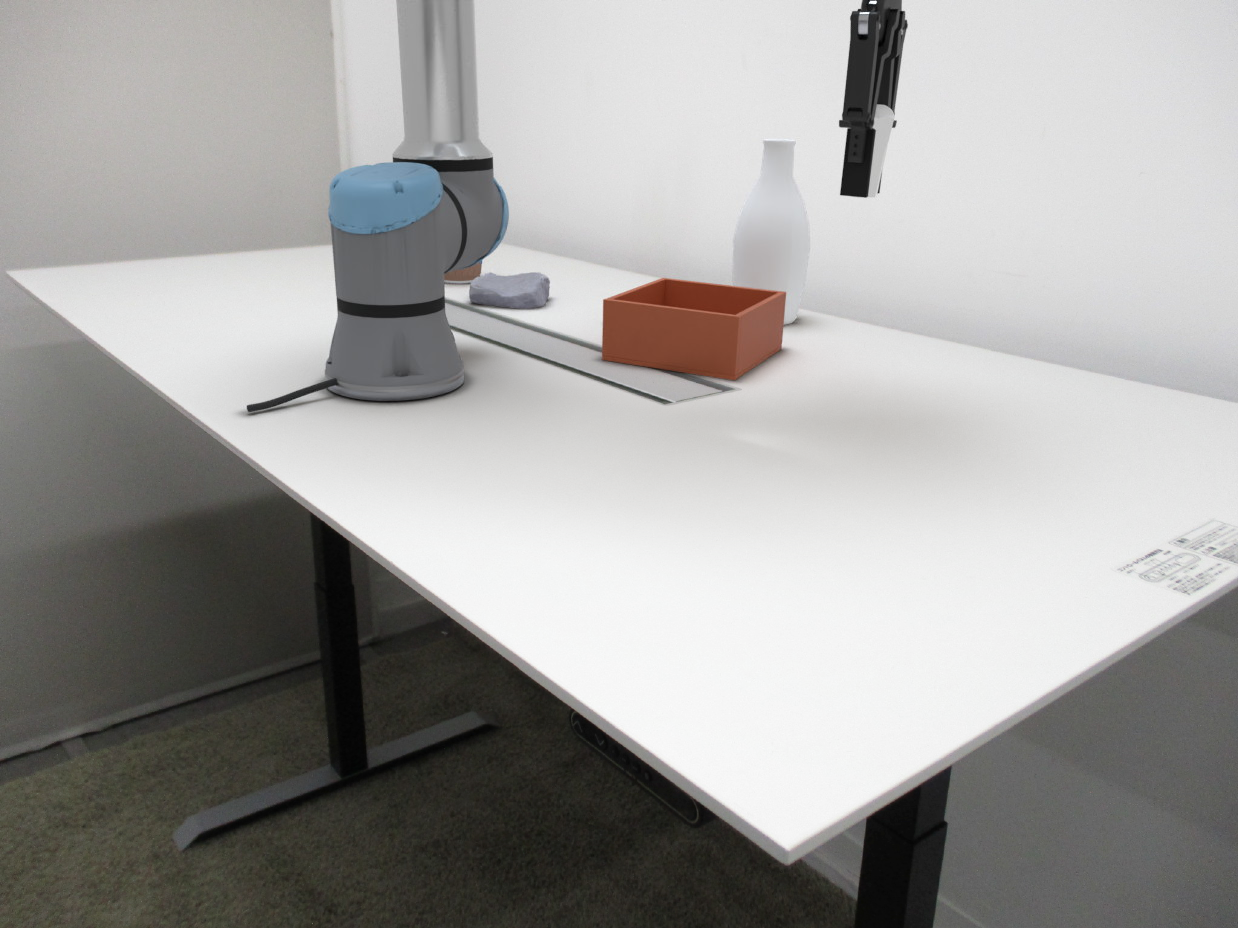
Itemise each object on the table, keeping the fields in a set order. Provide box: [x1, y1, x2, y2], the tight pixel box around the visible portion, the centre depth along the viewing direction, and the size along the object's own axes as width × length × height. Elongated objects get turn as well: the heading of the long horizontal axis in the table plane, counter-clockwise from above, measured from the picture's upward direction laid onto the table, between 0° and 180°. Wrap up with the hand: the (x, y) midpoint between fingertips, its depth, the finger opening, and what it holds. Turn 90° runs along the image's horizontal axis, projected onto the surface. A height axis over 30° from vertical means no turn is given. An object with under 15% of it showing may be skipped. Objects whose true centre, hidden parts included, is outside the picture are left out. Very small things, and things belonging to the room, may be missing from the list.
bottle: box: [731, 138, 811, 326], centre depth 145 cm, size 11×11×25 cm
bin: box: [601, 277, 786, 381], centre depth 128 cm, size 18×18×8 cm
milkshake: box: [850, 104, 896, 199], centre depth 103 cm, size 4×5×10 cm
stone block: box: [468, 271, 551, 310], centre depth 156 cm, size 12×5×10 cm
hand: (860, 193), depth 105 cm, fingers closed on milkshake, 4 cm apart
